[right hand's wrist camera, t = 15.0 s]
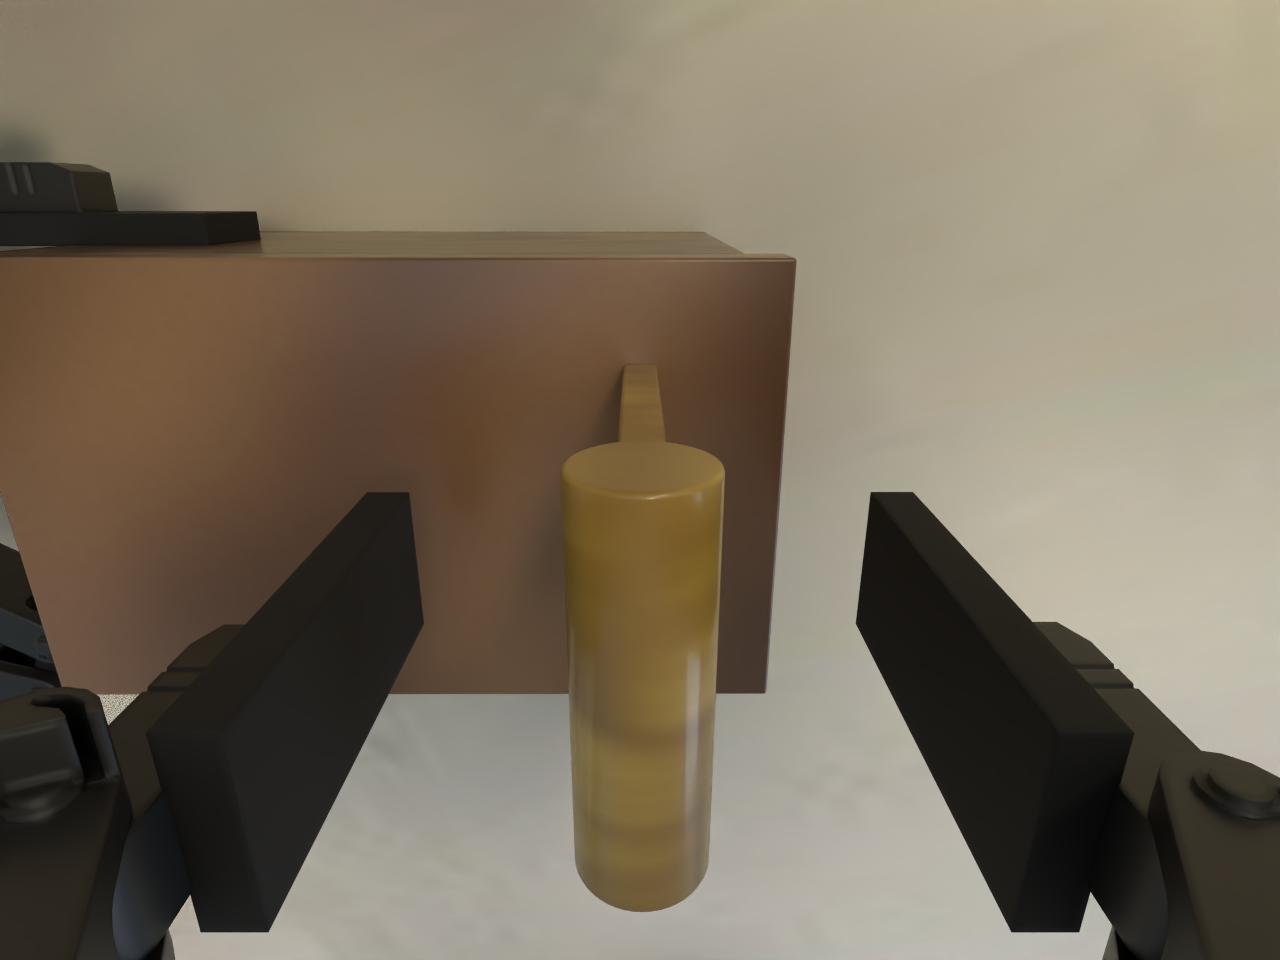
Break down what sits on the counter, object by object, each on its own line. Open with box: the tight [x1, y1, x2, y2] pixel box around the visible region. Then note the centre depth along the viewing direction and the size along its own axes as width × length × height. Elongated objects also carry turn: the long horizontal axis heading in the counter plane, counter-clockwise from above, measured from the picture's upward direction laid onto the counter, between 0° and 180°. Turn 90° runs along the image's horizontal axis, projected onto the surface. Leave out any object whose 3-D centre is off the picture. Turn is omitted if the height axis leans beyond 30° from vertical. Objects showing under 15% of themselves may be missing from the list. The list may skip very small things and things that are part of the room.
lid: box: [0, 253, 796, 912], centre depth 14 cm, size 17×10×9 cm, turn 90°
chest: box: [0, 232, 744, 254], centre depth 23 cm, size 16×10×10 cm, turn 90°
